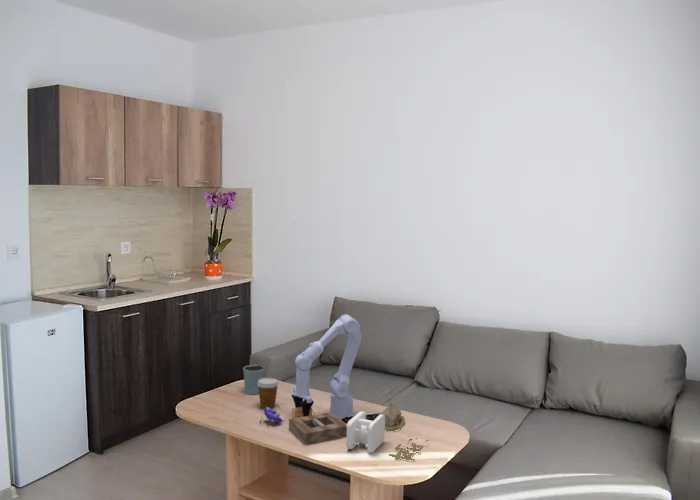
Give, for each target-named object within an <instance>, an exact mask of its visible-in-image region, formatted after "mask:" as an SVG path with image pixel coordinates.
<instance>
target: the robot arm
mask: <svg viewBox="0 0 700 500" xmlns="http://www.w3.org/2000/svg"><path fill="white" fill-rule="evenodd" d="M339 335H347V337H348V341H347V343H346V347H345V350H344V352H343V356H342V358H341V362H340V364H339V367H338V370H337V372H336V373H335V374H334V376H333V378H332V379H331V380H330V382H329V389H330V391H331V393H330V407H329V408H330V409H329V412H331V413H333V414H334V415H335V416H337V417H338V418H339V419H341V420H342V419H346V418H345V417H348V418H351V417H350V416H353V417H354V416H355V415H354V400H353V397H352V395H351V394H349V392H350V387H349V386H350V383H351V382H350V375H351V372H352V368H353V366H354V363H355V359H356V357H357V354H358V351H359V347H360V344H361V341H362V338H363V337H362V333H361V324H360V323H359V322H358V321H357V319H356V318H353V317H352V316H351V315H349V314H346V313H345V314H342V315H340V316H339V318H338V319H336V320H335V322H334V323H333V324H332V325H331V327H330V328H329V329H328V330H327V331H326V332H325V333H324V335H322V337H321V338H319V340H317V341H312V342H310V343H309V346H308V347H307V348H306V349H305V350H304V351H302V352H301V353H300V354H298V355H297V356H296V358H295V360H294V364H295V366H296V370H295V371H296V373H295V387H294V388H293V394H291V398H292V400H293V404H294V408H297V407H302V412H303V414H302V417H304V416H309V412H310V409H311V407H312V406H313V405H314V403H315V402H314V400H313V397H311V392H310V382H311V381H310V379H311V378H310V374H311V373H310V369H311V367H312V364H313V362H315V360H317V359H318V357H320V355H321V354H322V353H323V352H324V351H325V350H324V348H325V346H327V345H328V344H329V343H330V342H331V341H333V339H335V338H336V336H339ZM312 408H313V407H312Z"/></svg>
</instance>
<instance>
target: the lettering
mask: <svg viewBox="0 0 700 500" xmlns="http://www.w3.org/2000/svg"><path fill="white" fill-rule="evenodd" d="M408 436H409V437H410V436H411V435H408ZM401 444H402V443H400V444H398V445H396V446H395V448H394V451H395V450H398V449H399V447H400V446H401ZM413 444H414V445H413ZM411 446H412V447H413V448H408V447H406V448H407V449H410V450H413V452H415V451H421V449H416V447H417V448H420V447H421V446H422V445H421V446H420V445H416V444H415V443H412V444H411ZM403 447H404V446H403ZM422 447H423V446H422ZM403 450H404V451H403ZM405 450H406V449H405V448H404V449H403V448H400V450H398V451H396V454H394V453H389V454H388V456H389V457H390V456H392V457H395V458H394V460H395V459H396V460H398V459H400V458H401V459H406V460H414V459H415V457H413V456H412V455H413V454H414V453H409V451H405ZM421 452H422V451H421ZM401 453H403V454H401ZM408 453H409V454H408ZM416 453H419V452H416ZM407 454H408V455H407ZM414 455H415V454H414ZM403 456H404V457H403ZM411 456H412V458H414V459H412V458H411ZM392 457H391V458H392ZM401 459H400V460H401ZM396 460H395V461H396ZM415 460H416V459H415Z"/></svg>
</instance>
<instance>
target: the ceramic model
mask: <svg viewBox="0 0 700 500" xmlns="http://www.w3.org/2000/svg"><path fill="white" fill-rule="evenodd" d="M387 405H388V406H386V407H385V409H384V410H383V411H382V412H381V413H380V414H382V415H385V430H386V431H385V432H388V431H395V430H398V429H400V428H401V427H402V426H404V425H403V424H405V422H406V421H405V420H406V419H405V417H404V415H402V411H401V409H400V407H399V406H398V405H397V404H396V402H388V404H387ZM380 414H378V415H377V416H376V417H375V419H376V418H377V417H378V416H379V415H380ZM402 428H403V427H402ZM402 428H401V429H402ZM401 429H400V430H401ZM395 432H396V431H395Z"/></svg>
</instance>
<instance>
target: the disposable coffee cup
mask: <svg viewBox="0 0 700 500" xmlns="http://www.w3.org/2000/svg"><path fill="white" fill-rule="evenodd" d="M257 385H258V388H259V394H258V396H259V404H260V405H259V406H260V408H261V409H265V408H266V407H267V406H268V405H269V406H268V407H269V408H271V409H274V408H275V407H276V398H277V394H278V393H277V391H278V385H279V381H278V379H277V378H274V377H264V378H262V379H260V380H258V383H257ZM271 404H274V405H271Z"/></svg>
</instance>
